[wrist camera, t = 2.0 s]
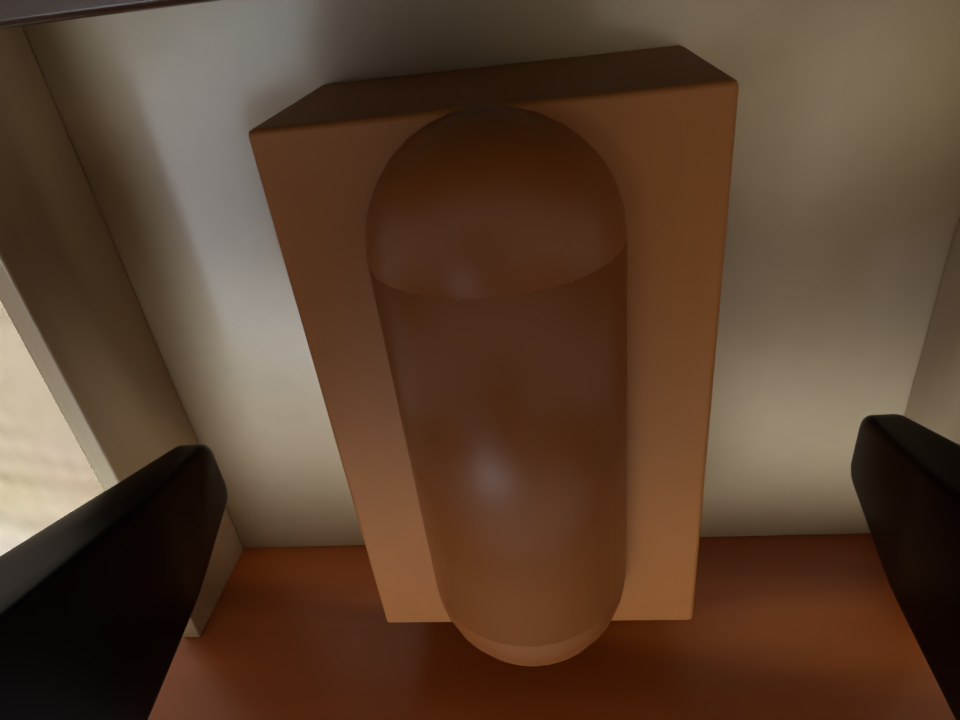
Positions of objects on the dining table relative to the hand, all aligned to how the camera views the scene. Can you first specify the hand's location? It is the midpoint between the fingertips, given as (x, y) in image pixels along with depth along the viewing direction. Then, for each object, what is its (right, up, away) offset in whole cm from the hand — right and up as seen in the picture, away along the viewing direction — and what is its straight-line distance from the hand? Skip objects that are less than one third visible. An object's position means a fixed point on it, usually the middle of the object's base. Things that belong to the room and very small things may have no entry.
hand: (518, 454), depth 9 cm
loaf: (0, +2, +3) cm, 4 cm away
